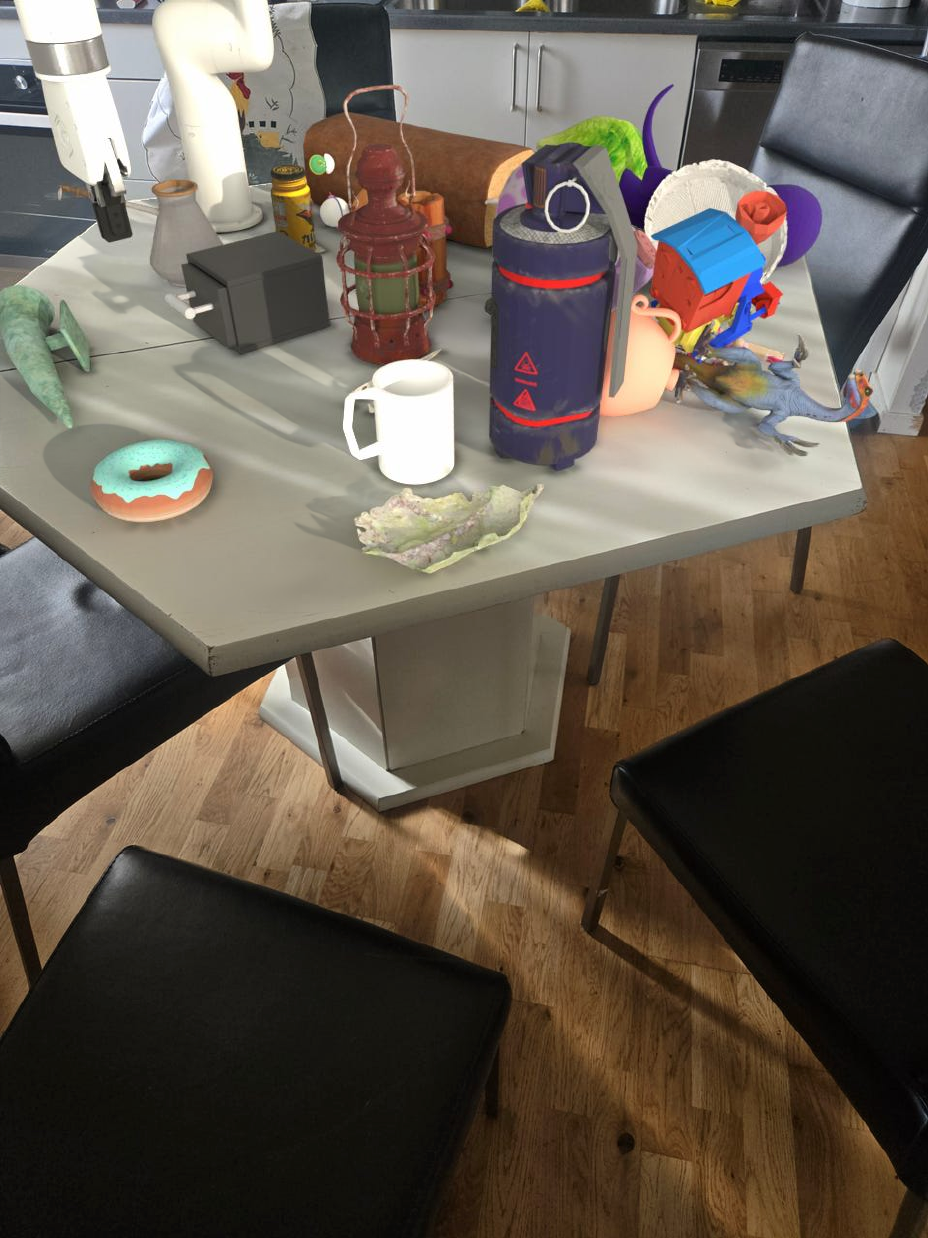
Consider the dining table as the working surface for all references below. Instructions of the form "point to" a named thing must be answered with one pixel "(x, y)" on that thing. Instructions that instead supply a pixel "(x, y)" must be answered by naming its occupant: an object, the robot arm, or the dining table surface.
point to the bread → (419, 168)
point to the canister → (558, 305)
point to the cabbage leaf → (443, 525)
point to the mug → (436, 234)
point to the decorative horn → (40, 343)
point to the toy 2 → (645, 252)
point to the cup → (409, 421)
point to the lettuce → (607, 142)
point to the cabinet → (268, 288)
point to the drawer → (205, 304)
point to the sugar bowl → (642, 361)
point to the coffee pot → (172, 226)
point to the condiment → (293, 205)
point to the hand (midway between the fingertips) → (117, 237)
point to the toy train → (716, 270)
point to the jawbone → (369, 385)
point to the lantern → (385, 257)
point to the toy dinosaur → (763, 388)
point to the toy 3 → (798, 200)
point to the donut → (139, 500)
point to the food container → (710, 202)
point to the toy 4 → (760, 351)
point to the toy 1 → (333, 205)
